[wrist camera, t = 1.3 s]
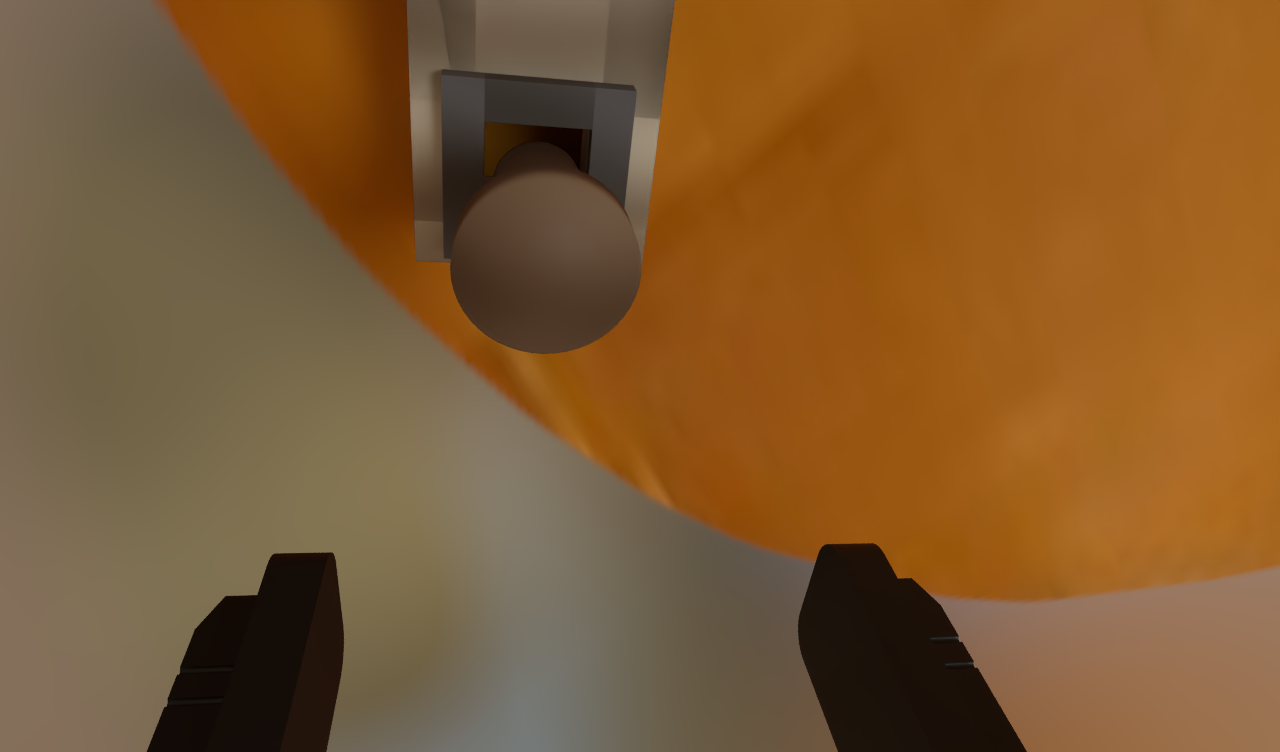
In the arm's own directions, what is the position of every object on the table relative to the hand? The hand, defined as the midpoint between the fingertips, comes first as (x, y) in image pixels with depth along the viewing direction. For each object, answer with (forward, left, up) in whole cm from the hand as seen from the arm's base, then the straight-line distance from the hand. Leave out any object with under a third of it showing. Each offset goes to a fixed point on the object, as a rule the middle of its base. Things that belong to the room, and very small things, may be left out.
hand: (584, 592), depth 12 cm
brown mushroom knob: (0, 0, -18) cm, 18 cm away
